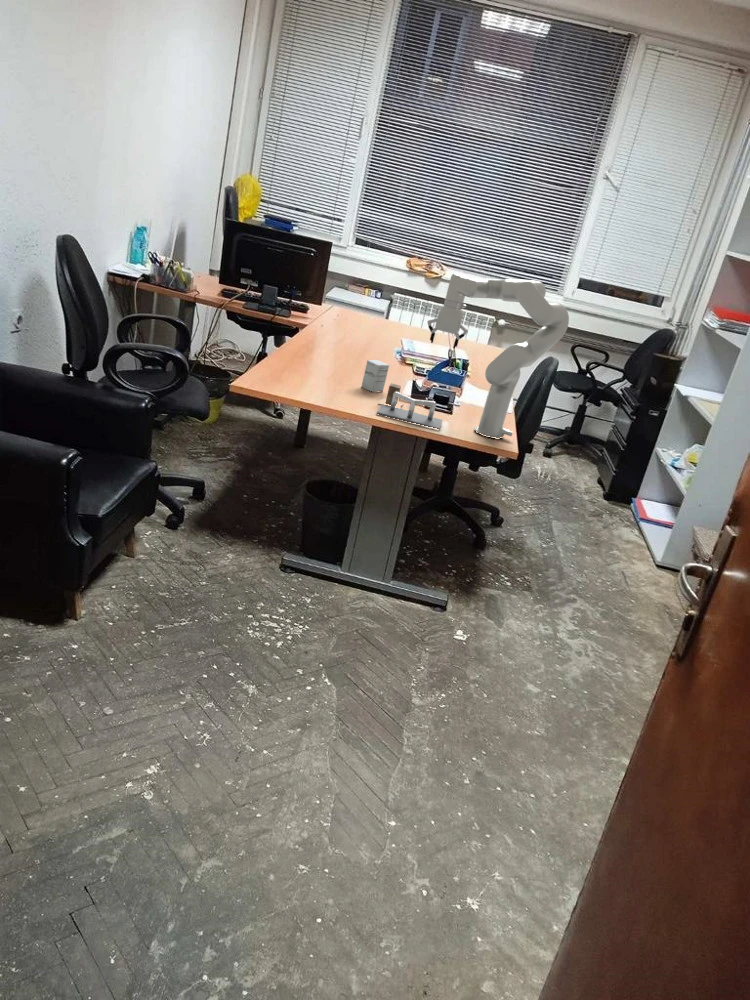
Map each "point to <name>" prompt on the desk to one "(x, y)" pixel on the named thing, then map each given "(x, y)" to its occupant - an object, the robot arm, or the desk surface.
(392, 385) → the walnut block
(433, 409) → the grey bridge stand
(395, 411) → the base
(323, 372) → the desk surface
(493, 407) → the robot arm
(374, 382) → the supplement box
